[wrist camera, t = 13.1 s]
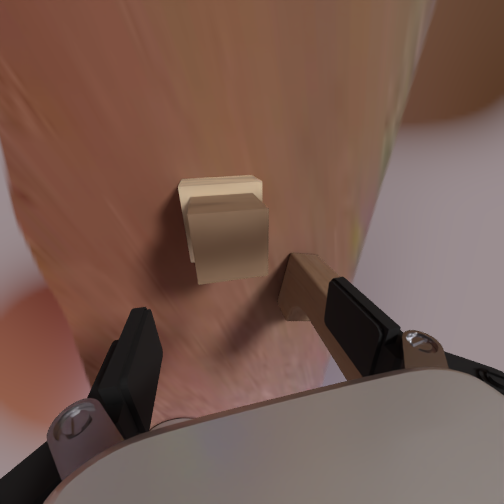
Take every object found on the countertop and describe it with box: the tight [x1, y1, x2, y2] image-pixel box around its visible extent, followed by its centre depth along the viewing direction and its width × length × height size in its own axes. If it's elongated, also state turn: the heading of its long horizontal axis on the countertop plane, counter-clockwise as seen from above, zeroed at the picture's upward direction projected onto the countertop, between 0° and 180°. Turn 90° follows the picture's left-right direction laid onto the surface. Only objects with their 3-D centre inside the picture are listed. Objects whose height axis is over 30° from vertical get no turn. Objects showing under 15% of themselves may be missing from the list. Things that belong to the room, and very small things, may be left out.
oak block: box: [178, 175, 262, 263], centre depth 25 cm, size 8×8×5 cm
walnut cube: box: [187, 193, 269, 285], centre depth 20 cm, size 6×6×6 cm
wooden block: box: [277, 253, 362, 381], centre depth 26 cm, size 9×4×18 cm, turn 170°
